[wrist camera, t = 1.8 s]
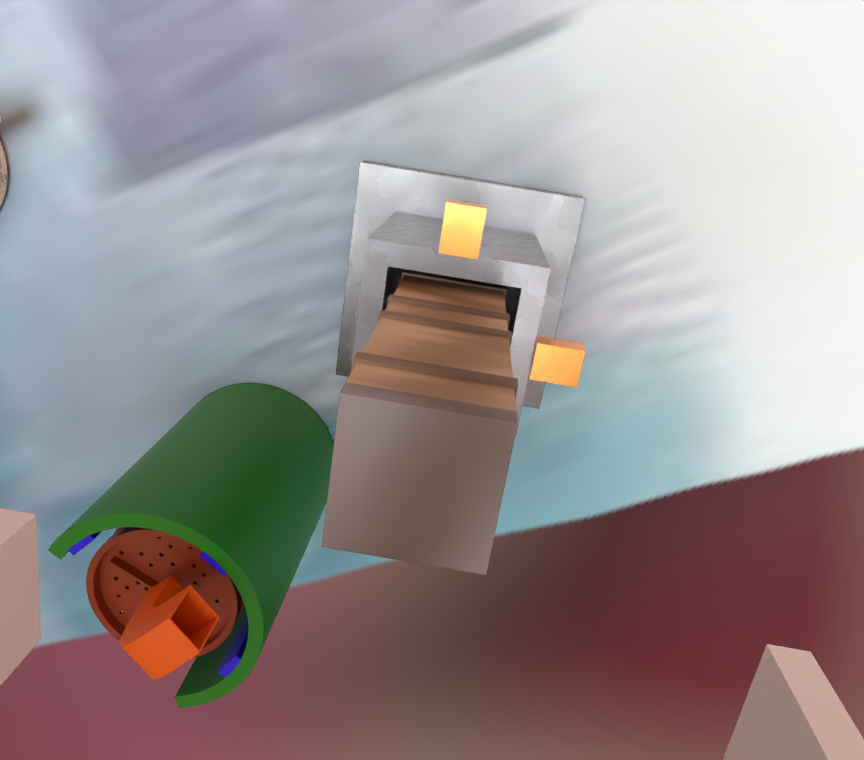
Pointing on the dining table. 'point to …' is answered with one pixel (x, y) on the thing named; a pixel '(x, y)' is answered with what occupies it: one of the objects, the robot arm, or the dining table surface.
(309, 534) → the motor
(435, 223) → the stand base
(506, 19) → the dining table surface
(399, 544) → the column
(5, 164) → the teacup with lid
